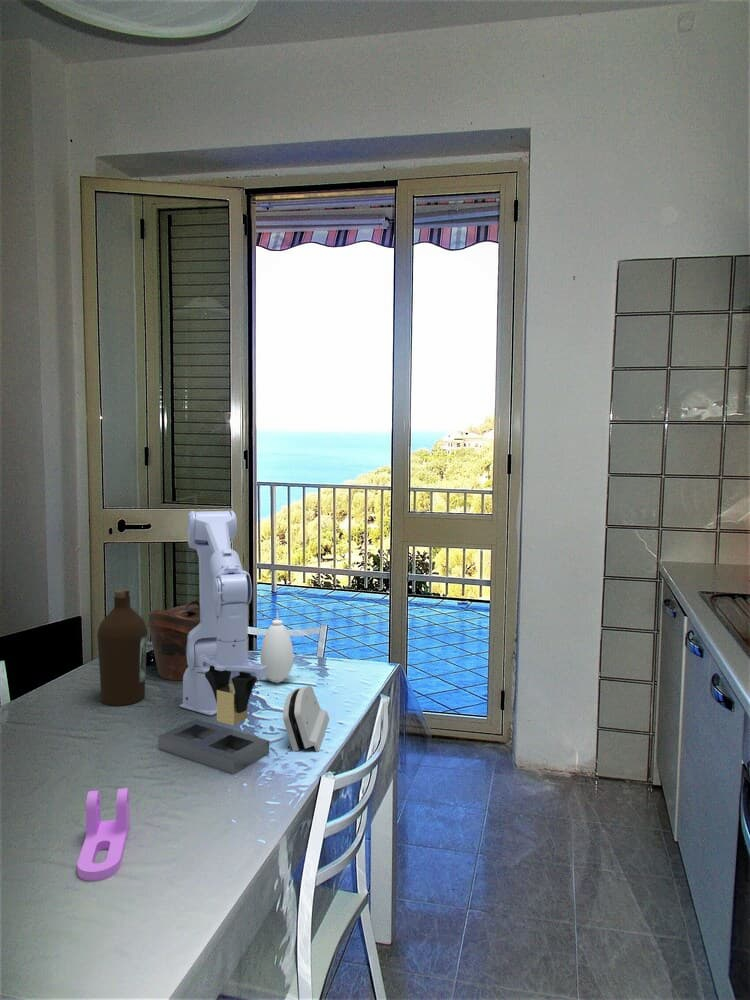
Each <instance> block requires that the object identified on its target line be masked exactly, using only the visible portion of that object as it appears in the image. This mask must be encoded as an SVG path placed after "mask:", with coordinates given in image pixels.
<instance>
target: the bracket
mask: <svg viewBox="0 0 750 1000" xmlns="http://www.w3.org/2000/svg"><path fill="white" fill-rule="evenodd" d="M116 793H117V794H116V803H115V806H116V809H115V810H116V811H115V812H116V813H115V814H116V815H115V816H116V819H111V820H101V812H102V811H101V790H89V791H88V793H87V797H86V801H85V802H86V803H85V829H86V831H85V832H86V835H85V838H84V841H83V844H82V847H81V851H80V853H79V857H78V859H77V862H76V863H77V864H76V865H77V866H76V869H77V876H78V878H80V879H82V880H84V881H89V882H95V881H101V880H104V879H107V878H110V877H112V876H113V875H115V873H116V874H117V872H118V871H119V870H120V869H121V865H122V861H123V858H124V857H123V856H124V853H125V848H126V845H127V844H126V843H127V839H128V835H129V830H130V823H131V822H130V821H131V820H130V818H131V816H130V814H131V813H130V811H131V810H130V788H129V787H124V788H123V787H122V788H118V789H117V792H116ZM102 850H108V852H107V855H106V859H105V860H104V861H101V862H99V863H96V862H95V860H96V857H97V854H98V852H100V851H102Z"/></svg>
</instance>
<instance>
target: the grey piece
mask: <svg viewBox="0 0 750 1000" xmlns="http://www.w3.org/2000/svg"><path fill="white" fill-rule="evenodd" d="M282 718H283V719H282V720H283V723H284V726H285V729H286V733H287V736H288V739H289V742H290V747H291V750H292V751H293V752H298V751H300V750H301V748H304V749H308V748H311V747H314V750H315V752H316V753H319V752H320V750H321V746H322V743H323V739H324V738H325V734H326V731H327V728H328V725H329V722H330V717H329V714H328V712H327V711H326V710H324V709H322V708H321V707H320V704H319V701H318V699H317V696H316V694H315V691H314V689H313V687H312V686H311V685H308V686H307V685H306V686H302V687H301V688H295V689H294V690H293V691H290V692H289V693H288V694H287V696H286V698H285V701H284V705H283V711H282Z"/></svg>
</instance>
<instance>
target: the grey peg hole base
mask: <svg viewBox="0 0 750 1000" xmlns="http://www.w3.org/2000/svg"><path fill="white" fill-rule="evenodd" d="M196 737H197V738H200V740H198V741H194V740H192V739H194V738H196ZM157 748H158V750H161V751H164V752H166V753H170V754H173V755H175V756H179V757H181V758H185V759H187V760H190V761H193V762H196V763H199V764H202V765H205V766H208V767H211V768H213V769H216V770H220V771H223V772H225V773H226V772H227V773H229V774H232V775H235V774H236V773H238V772H240V771H241V770H243V769H245V768H247V767H248V766H250V765H252V764H254V763H255V762H257V761H258V760H260V759H262V758H264V757H265V756H267V755H269V754H270V740H268V739H265V738H262V737H259V736H255V735H251V734H249V733H246V732H242V731H240V730H239V731H238V730H236V729H231V728H228V727H224V726H222V725H217V724H214V723H212V722H208V721H205V720H201V719H198V718H194V719H192V720H190V721H188V722H186V723H184V724H182V725H179V726H177V727H175V728H172V729H171V730H169V731H168V730H167V732H164V733H162V734H160V735H157ZM229 748H230V749H231V748H232V749H235V750H237V751H235V752H233V753H232V752H230V751H225V750H227V749H229Z"/></svg>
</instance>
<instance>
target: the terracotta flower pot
mask: <svg viewBox="0 0 750 1000" xmlns="http://www.w3.org/2000/svg"><path fill="white" fill-rule="evenodd" d="M147 616H148V617H147V618H148V621H147V623H148V624H147V628H149V629H148V632H149V635H150V639H151V643H152V649H153V652H154V657H155V663H156V669H157V673H158V675H159V676H160V678H162V679H165V680H171V681H183V676H184V673H185V671H186V669H187V668H188V667H189V666H188V664H187V636H188V634H189V632H190V631H191V630H192V629H194V628H195V627H196V626H197V625H198V624H199V623H200V600H194V601H191V602H190V603H186V604H184V605H179V606H175V607H172V608H169V609H164V610H161V609H159V610H157V609H156V610H150V611H149V612H148V615H147ZM211 638H216V637H211ZM201 639H208V638H201Z"/></svg>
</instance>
